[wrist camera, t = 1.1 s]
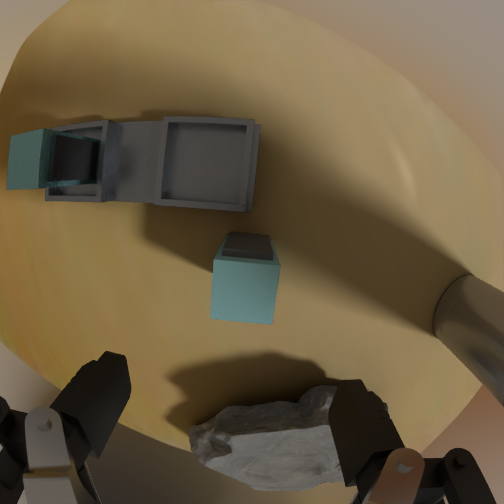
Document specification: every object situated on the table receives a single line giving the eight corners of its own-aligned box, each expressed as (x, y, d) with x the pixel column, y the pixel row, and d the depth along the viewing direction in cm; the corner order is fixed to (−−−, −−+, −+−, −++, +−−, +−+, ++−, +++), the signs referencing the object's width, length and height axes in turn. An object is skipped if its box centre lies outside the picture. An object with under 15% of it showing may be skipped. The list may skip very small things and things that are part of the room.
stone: (396, 477, 25) (238, 516, 26) (381, 441, 33) (239, 478, 35) (406, 385, 19) (155, 447, 21) (374, 340, 27) (171, 396, 29)
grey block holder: (260, 129, 22) (265, 92, 12) (251, 208, 23) (251, 226, 14) (67, 132, 21) (0, 121, 12) (62, 197, 23) (-6, 209, 13)
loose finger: (272, 233, 24) (281, 257, 16) (266, 281, 25) (272, 324, 17) (226, 229, 24) (214, 251, 16) (222, 277, 25) (210, 318, 17)
